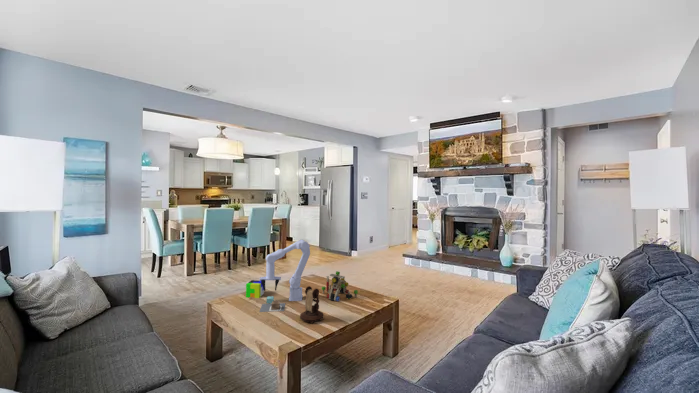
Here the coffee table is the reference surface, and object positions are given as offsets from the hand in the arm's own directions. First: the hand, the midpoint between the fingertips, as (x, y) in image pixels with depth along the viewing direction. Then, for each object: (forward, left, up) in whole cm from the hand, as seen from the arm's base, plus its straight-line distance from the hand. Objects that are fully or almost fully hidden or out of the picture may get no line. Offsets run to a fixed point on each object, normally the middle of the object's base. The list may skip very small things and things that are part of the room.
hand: (270, 290), depth 217 cm
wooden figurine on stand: (-29, +30, -9) cm, 43 cm away
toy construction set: (-48, -10, -10) cm, 50 cm away
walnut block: (-5, +12, -8) cm, 16 cm away
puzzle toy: (+13, -17, -10) cm, 23 cm away
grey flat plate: (-3, +10, -9) cm, 14 cm away
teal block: (0, 0, -9) cm, 9 cm away
